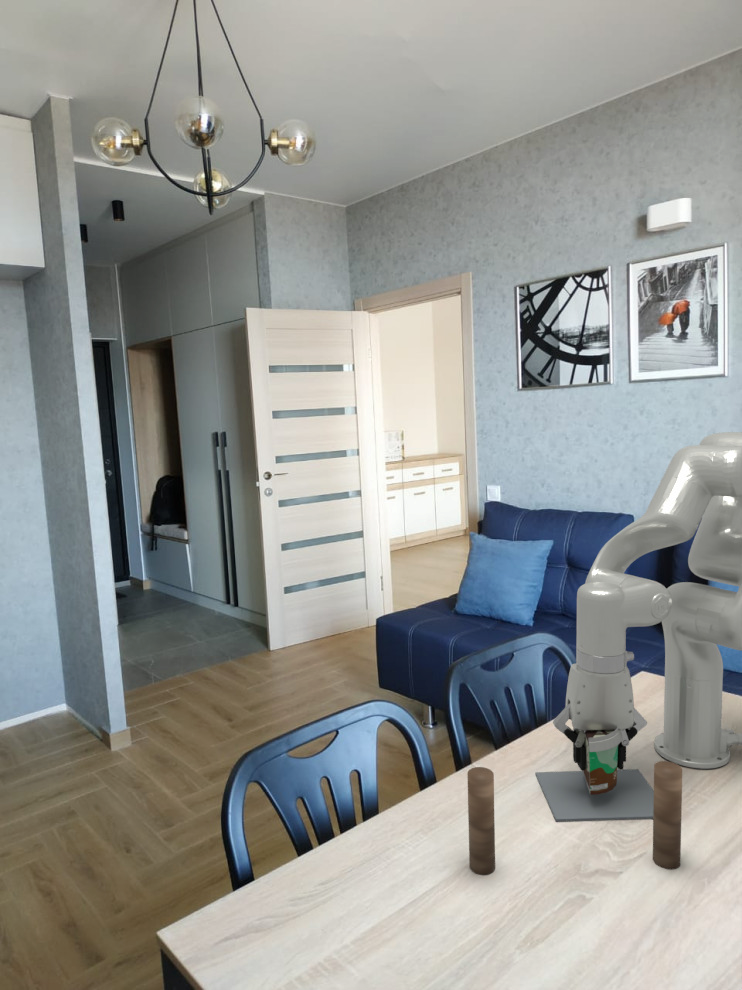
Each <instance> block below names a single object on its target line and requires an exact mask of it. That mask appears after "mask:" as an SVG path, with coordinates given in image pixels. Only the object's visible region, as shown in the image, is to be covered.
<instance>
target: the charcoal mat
mask: <svg viewBox="0 0 742 990" xmlns="http://www.w3.org/2000/svg"><path fill="white" fill-rule="evenodd" d="M535 777H536V779H537V781H538V783H539V787H540V788H541V790H542V792H543V795H544V797H545V800H546V802H547V804H548V807H549V809H550V811H551V814H552V815H553V818H554V820H555V822H557V823H558V822H559V823H560V822H587V821H588V822H589V821H591V822H592V821H593V822H594V821H620V820H653V809H654V788H653V787H652V786H651V785H650V783H649V782H648V781H647V779H646V778H645V776H644V775H643V774H642V772H641V771H640V769H639V768H637V769H636V768H634V769H632V768H631V769H617V784H616V786H615V787H614V788H613V790H611V791H609V792H607V793H603V794H598V795H590V792H589V790H588V787H587V784H586V781H585V778H584V775H583V772H582V770H570V771H569V770H568V771H567V770H566V771H564V770H563V771H539V772H538V771H537V772H535Z"/></svg>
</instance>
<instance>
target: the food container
mask: <svg viewBox="0 0 742 990" xmlns="http://www.w3.org/2000/svg"><path fill="white" fill-rule="evenodd" d="M621 741H622V733H621V730H619V729H618V727H617V728H616V730H594V731H587V732H586V737H585V739H584V742H583V744H584V746H585V748H586V769H585V770H581V771H582V772H583V775H584V778H585V781H586V784H587V787H588V790H589V792H590V795H598V794H603V793H607V792H609V791H611V790H613V788H614V787H615V786H616V784H617V770H618V767H617V761H618V744H619V743H620V742H621Z"/></svg>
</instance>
